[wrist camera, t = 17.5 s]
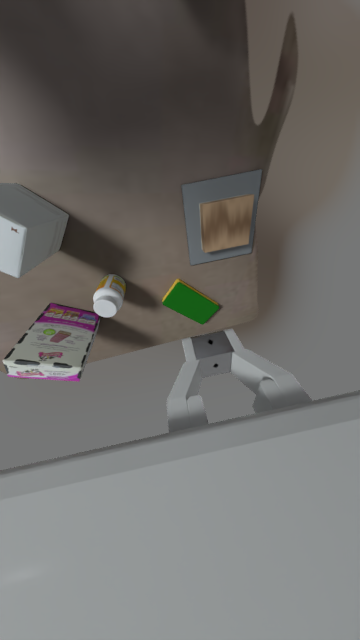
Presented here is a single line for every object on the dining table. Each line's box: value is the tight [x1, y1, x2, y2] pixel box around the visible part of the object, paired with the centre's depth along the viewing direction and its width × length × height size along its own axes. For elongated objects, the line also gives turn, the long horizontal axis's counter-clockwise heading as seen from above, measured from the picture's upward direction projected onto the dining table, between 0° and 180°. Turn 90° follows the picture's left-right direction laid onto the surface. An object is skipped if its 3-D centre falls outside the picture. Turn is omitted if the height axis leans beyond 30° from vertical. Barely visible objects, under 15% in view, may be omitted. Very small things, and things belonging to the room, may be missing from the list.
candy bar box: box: [3, 303, 101, 381], centre depth 34 cm, size 11×5×16 cm, turn 67°
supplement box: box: [0, 183, 69, 278], centre depth 23 cm, size 7×7×13 cm
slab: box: [199, 194, 254, 253], centre depth 31 cm, size 8×2×9 cm
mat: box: [181, 169, 262, 265], centre depth 32 cm, size 14×14×1 cm
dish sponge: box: [162, 279, 219, 324], centre depth 42 cm, size 7×14×2 cm, turn 54°
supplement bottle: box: [93, 274, 126, 317], centre depth 33 cm, size 5×5×10 cm
